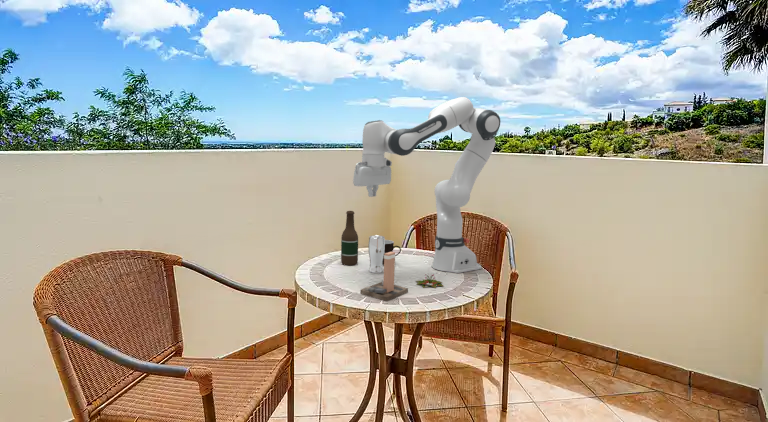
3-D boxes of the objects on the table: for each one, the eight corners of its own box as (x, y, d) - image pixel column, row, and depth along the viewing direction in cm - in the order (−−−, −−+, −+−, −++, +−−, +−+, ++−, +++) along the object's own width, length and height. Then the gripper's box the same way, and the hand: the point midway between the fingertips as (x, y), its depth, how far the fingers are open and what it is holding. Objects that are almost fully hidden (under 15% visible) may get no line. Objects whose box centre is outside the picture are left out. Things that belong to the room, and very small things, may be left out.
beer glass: (382, 274, 190) (383, 239, 188) (366, 272, 191) (367, 237, 189) (385, 269, 197) (386, 235, 194) (369, 268, 198) (370, 234, 196)
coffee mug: (370, 262, 208) (371, 241, 206) (383, 259, 214) (384, 238, 212) (388, 268, 200) (389, 245, 198) (401, 264, 206) (402, 243, 204)
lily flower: (449, 289, 174) (450, 277, 174) (420, 291, 171) (421, 279, 170) (437, 279, 186) (438, 269, 185) (410, 281, 182) (410, 270, 182)
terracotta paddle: (382, 291, 162) (384, 253, 160) (389, 289, 165) (391, 251, 163) (387, 292, 161) (388, 254, 159) (394, 290, 164) (395, 252, 162)
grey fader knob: (381, 284, 170) (381, 280, 169) (384, 283, 171) (384, 279, 171) (387, 286, 168) (387, 282, 168) (389, 285, 170) (390, 280, 169)
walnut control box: (360, 293, 164) (360, 286, 164) (382, 285, 175) (382, 278, 174) (387, 301, 157) (387, 294, 157) (408, 292, 167) (408, 285, 167)
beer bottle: (355, 266, 201) (357, 212, 197) (338, 265, 202) (339, 212, 198) (359, 262, 208) (360, 210, 205) (343, 260, 209) (343, 209, 206)
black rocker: (374, 292, 161) (374, 290, 161) (378, 290, 162) (378, 288, 162) (382, 293, 158) (382, 290, 158) (386, 291, 160) (386, 288, 160)
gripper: (362, 162, 170) (361, 199, 172) (394, 161, 186) (393, 195, 188) (349, 161, 173) (349, 197, 175) (382, 161, 190) (381, 194, 192)
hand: (372, 196), depth 182 cm, fingers closed
